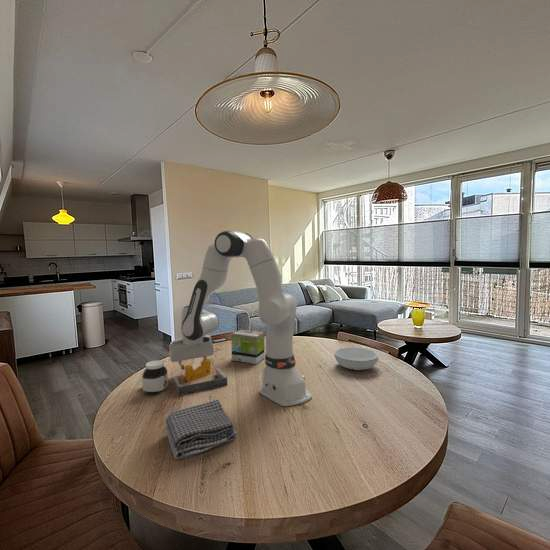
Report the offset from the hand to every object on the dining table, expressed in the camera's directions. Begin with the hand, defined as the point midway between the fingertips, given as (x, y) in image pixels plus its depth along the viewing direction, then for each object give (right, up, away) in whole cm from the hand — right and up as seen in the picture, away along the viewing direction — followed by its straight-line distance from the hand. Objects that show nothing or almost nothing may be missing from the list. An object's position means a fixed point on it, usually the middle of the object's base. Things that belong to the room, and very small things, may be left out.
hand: (192, 367), depth 141 cm
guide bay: (+6, -3, -12) cm, 14 cm away
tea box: (+25, -1, +17) cm, 30 cm away
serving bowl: (+79, -2, +5) cm, 79 cm away
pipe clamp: (+3, -3, -4) cm, 6 cm away
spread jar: (-12, -4, -17) cm, 21 cm away
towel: (+17, -6, -51) cm, 54 cm away
